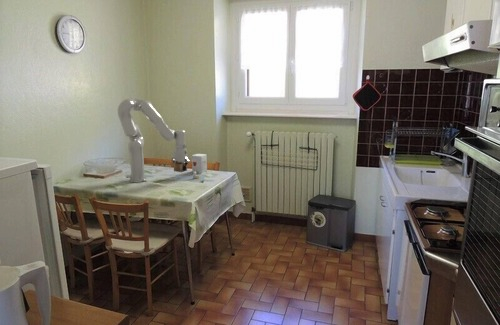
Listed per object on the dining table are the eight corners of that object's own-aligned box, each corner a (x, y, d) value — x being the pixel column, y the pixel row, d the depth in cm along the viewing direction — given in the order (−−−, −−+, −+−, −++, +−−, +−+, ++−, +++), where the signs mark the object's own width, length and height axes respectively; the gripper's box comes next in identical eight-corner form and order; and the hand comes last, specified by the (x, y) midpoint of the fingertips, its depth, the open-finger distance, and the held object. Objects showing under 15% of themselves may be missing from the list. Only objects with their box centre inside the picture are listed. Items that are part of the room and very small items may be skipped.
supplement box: (192, 173, 280) (191, 155, 277) (197, 171, 289) (197, 153, 285) (201, 174, 277) (201, 156, 274) (207, 172, 285) (206, 154, 282)
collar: (181, 172, 261) (181, 164, 259) (173, 171, 264) (173, 163, 262) (187, 170, 267) (187, 162, 265) (179, 169, 270) (179, 161, 268)
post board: (173, 182, 255) (172, 174, 253) (176, 176, 272) (176, 168, 271) (203, 182, 256) (203, 174, 255) (205, 176, 273) (204, 168, 272)
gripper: (192, 147, 261) (192, 170, 265) (174, 144, 268) (174, 167, 272) (186, 148, 254) (186, 172, 258) (167, 146, 262) (168, 169, 265)
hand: (180, 169), depth 265 cm, fingers closed on collar, 7 cm apart
